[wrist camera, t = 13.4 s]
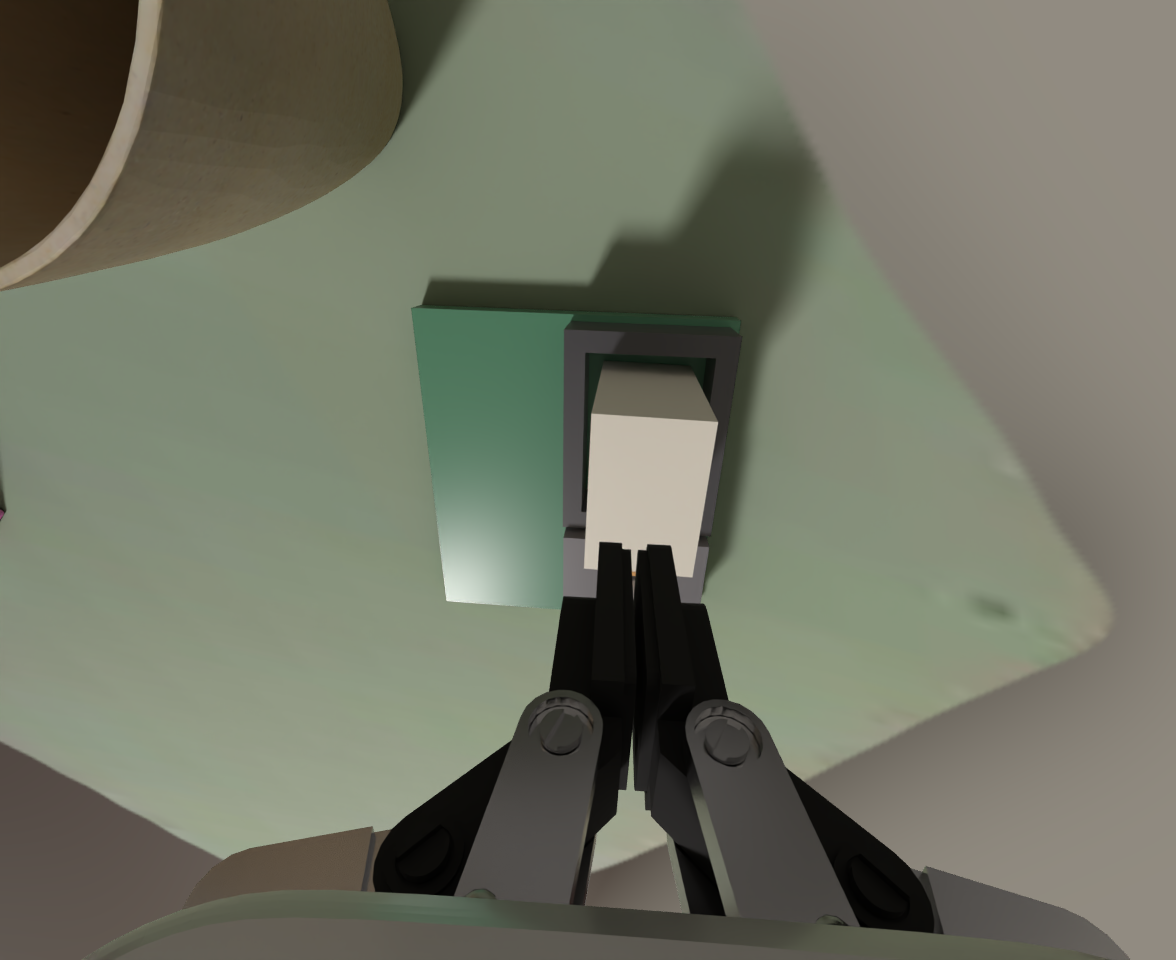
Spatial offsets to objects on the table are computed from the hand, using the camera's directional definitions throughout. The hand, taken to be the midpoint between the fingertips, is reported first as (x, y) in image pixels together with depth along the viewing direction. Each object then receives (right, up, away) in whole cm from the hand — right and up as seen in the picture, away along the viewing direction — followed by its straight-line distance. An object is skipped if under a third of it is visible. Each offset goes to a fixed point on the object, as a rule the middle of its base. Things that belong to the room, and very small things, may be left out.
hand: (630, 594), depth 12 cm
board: (-2, +3, +15) cm, 16 cm away
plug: (+2, +5, +12) cm, 14 cm away
